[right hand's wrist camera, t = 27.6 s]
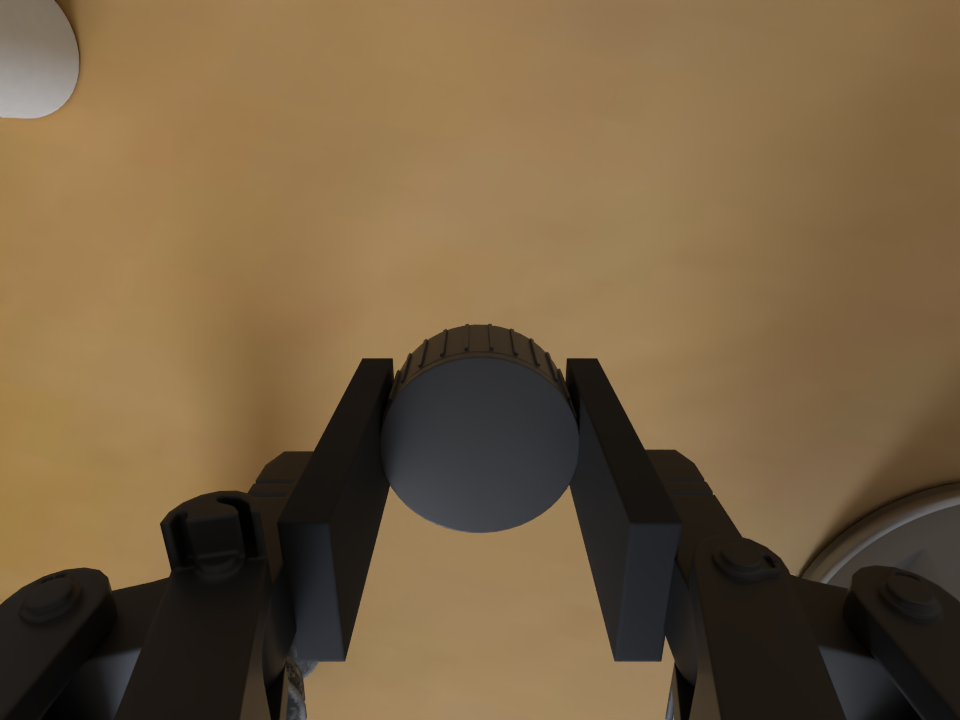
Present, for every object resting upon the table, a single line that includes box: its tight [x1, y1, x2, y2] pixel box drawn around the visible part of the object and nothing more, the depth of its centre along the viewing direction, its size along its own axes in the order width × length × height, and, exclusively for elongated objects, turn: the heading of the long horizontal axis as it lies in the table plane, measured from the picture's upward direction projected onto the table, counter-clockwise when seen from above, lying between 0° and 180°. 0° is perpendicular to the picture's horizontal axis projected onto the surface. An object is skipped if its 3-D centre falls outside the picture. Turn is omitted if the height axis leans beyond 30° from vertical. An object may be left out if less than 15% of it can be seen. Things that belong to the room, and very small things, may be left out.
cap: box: [380, 324, 579, 533], centre depth 14 cm, size 4×4×2 cm
